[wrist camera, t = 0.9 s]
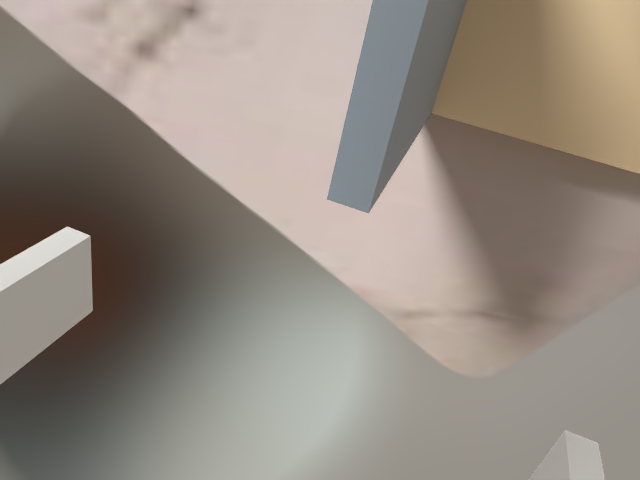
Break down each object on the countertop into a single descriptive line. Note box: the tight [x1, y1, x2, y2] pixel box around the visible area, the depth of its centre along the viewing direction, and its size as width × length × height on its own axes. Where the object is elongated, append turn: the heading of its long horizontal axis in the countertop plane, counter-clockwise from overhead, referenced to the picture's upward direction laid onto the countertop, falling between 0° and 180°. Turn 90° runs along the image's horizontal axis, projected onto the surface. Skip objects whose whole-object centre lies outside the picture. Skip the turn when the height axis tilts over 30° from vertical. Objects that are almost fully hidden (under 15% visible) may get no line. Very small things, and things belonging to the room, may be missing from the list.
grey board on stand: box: [327, 0, 640, 213], centre depth 20 cm, size 14×15×18 cm
